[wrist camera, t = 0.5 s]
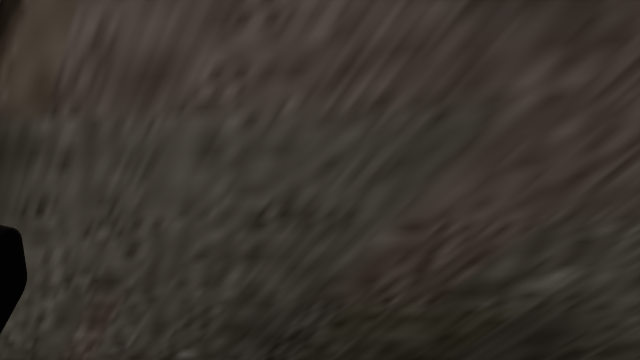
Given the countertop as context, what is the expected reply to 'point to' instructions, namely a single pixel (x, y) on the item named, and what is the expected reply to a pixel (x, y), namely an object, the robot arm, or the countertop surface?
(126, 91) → the countertop surface
